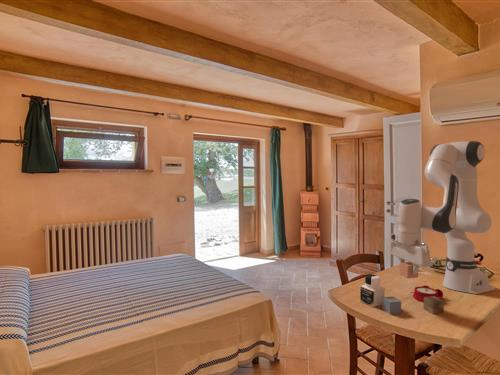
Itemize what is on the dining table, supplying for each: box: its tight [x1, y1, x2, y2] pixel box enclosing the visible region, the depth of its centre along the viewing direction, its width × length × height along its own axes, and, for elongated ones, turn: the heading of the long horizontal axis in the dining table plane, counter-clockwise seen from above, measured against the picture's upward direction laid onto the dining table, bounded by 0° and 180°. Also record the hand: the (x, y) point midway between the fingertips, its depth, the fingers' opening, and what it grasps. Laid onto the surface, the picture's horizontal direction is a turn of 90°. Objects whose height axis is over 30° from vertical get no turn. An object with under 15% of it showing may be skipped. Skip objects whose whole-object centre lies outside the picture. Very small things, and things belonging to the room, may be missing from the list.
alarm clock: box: [410, 285, 444, 303], centre depth 143 cm, size 10×6×15 cm
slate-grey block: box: [381, 296, 402, 315], centre depth 129 cm, size 5×5×5 cm
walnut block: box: [423, 296, 445, 315], centre depth 129 cm, size 5×5×5 cm
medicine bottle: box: [359, 273, 386, 308], centre depth 137 cm, size 7×7×12 cm
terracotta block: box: [398, 261, 419, 279], centre depth 132 cm, size 5×5×5 cm
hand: (408, 271), depth 132 cm, fingers closed on terracotta block, 5 cm apart
